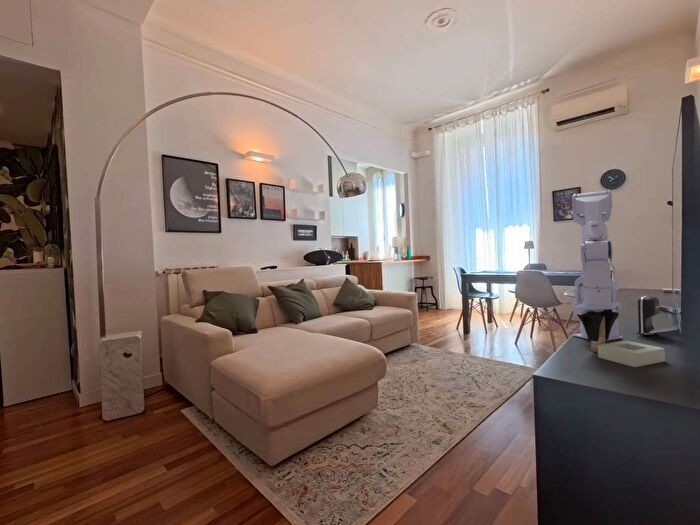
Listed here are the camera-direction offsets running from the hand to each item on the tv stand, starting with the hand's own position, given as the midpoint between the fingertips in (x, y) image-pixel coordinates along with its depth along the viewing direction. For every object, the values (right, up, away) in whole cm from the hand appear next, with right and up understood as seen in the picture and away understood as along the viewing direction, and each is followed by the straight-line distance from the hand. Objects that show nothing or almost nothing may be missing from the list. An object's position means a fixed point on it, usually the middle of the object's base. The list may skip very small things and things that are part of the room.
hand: (598, 339), depth 86 cm
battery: (+26, -2, +14) cm, 30 cm away
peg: (0, -3, 0) cm, 3 cm away
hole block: (+2, -3, -7) cm, 8 cm away
